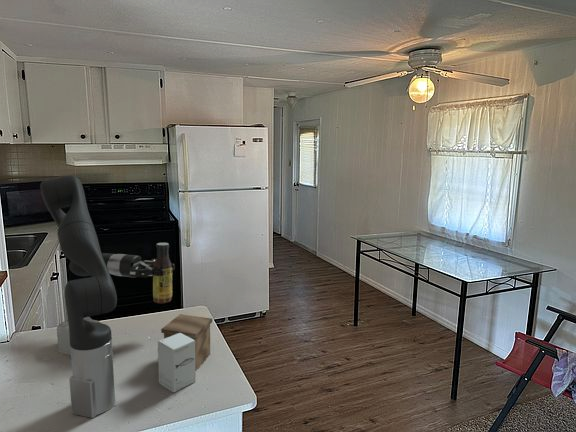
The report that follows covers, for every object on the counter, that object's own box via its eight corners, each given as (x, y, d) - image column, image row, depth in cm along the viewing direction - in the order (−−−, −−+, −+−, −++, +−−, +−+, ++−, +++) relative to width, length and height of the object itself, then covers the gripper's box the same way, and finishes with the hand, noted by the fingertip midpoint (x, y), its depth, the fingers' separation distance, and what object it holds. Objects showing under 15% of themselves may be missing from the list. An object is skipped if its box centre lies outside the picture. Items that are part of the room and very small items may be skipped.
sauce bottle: (160, 306, 135) (158, 247, 131) (149, 301, 138) (147, 244, 135) (176, 300, 140) (175, 243, 136) (165, 295, 143) (164, 240, 140)
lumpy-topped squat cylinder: (83, 357, 126) (81, 330, 124) (49, 350, 129) (46, 325, 127) (106, 341, 136) (105, 317, 134) (73, 336, 139) (72, 312, 137)
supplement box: (173, 393, 109) (172, 349, 106) (158, 382, 113) (156, 340, 111) (196, 382, 114) (195, 340, 112) (180, 372, 119) (179, 331, 117)
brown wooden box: (196, 372, 119) (195, 334, 116) (162, 366, 121) (161, 329, 119) (212, 354, 129) (212, 318, 127) (181, 349, 132) (180, 314, 130)
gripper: (110, 260, 133) (156, 264, 129) (137, 249, 147) (179, 253, 143) (111, 282, 134) (157, 287, 130) (138, 270, 148) (180, 274, 144)
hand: (168, 269), depth 137 cm, fingers closed on sauce bottle, 6 cm apart
